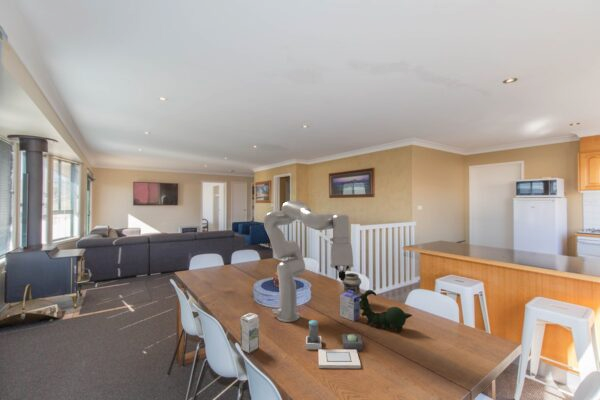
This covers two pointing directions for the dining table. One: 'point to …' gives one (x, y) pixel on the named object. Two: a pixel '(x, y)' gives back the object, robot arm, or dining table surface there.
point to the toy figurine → (383, 314)
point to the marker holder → (313, 344)
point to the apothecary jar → (352, 284)
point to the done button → (351, 337)
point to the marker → (313, 331)
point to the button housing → (352, 343)
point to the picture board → (338, 358)
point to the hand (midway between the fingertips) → (342, 279)
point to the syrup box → (249, 332)
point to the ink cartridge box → (350, 306)
